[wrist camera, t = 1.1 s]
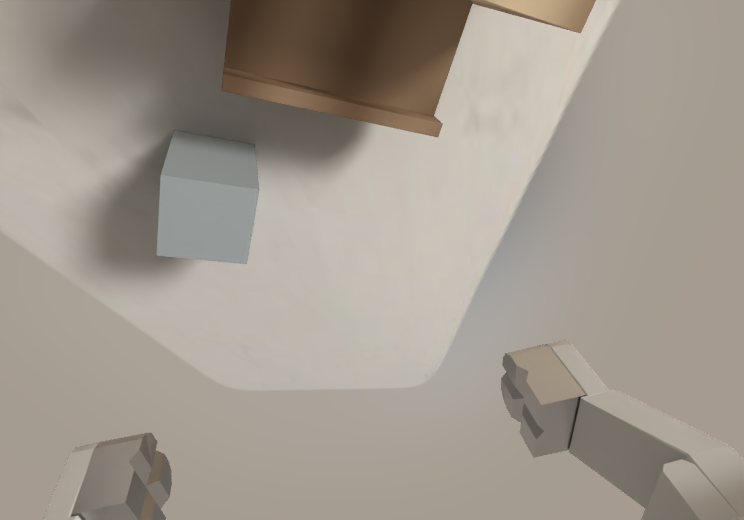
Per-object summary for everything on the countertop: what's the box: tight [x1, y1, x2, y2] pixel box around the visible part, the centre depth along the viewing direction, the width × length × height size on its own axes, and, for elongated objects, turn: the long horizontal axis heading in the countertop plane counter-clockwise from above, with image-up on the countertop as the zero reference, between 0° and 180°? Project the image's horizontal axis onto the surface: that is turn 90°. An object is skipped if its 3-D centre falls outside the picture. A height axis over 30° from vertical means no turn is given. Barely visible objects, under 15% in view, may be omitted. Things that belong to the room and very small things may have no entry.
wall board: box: [222, 0, 596, 137], centre depth 23 cm, size 16×8×12 cm, turn 74°
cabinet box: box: [157, 130, 259, 264], centre depth 29 cm, size 5×6×7 cm
